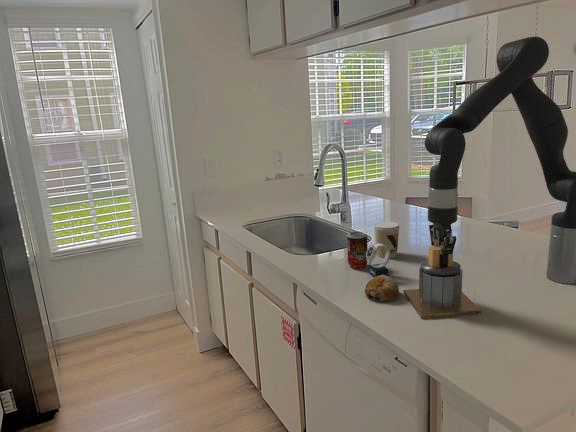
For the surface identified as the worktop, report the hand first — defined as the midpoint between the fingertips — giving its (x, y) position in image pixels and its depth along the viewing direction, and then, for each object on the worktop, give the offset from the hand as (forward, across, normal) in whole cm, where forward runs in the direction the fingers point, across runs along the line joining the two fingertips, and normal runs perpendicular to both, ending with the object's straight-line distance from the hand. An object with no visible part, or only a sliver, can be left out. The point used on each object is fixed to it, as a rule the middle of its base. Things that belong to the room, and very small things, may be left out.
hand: (441, 264), depth 118 cm
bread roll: (+12, +8, +15) cm, 20 cm away
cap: (+3, 0, 0) cm, 3 cm away
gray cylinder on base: (+12, 0, 0) cm, 12 cm away
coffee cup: (+12, +43, +4) cm, 45 cm away
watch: (+12, +23, +12) cm, 29 cm away
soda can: (+12, +33, +17) cm, 39 cm away
